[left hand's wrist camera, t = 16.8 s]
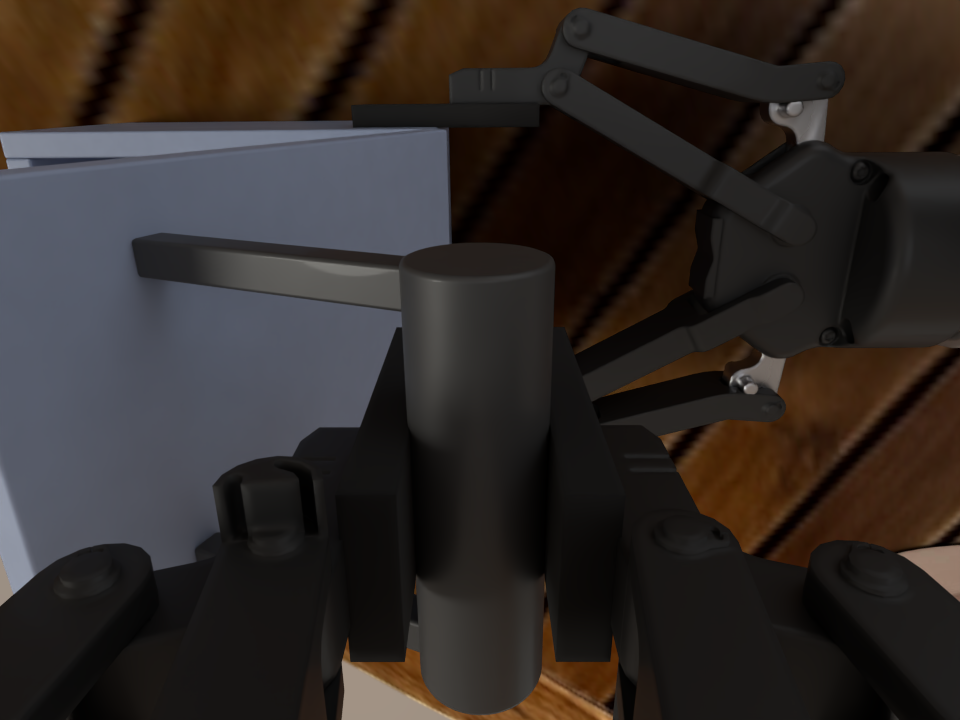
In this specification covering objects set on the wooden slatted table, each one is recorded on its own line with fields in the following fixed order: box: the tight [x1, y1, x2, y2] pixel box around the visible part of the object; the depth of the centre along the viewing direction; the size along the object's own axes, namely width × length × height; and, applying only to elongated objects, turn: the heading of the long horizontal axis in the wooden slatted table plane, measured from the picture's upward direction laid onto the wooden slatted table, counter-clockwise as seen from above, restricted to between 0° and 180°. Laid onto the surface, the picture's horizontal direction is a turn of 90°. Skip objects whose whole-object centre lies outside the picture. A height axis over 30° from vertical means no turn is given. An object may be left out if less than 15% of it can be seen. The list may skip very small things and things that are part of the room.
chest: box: [0, 121, 452, 244], centre depth 28 cm, size 15×10×9 cm, turn 90°
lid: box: [0, 129, 555, 715], centre depth 16 cm, size 15×10×8 cm
